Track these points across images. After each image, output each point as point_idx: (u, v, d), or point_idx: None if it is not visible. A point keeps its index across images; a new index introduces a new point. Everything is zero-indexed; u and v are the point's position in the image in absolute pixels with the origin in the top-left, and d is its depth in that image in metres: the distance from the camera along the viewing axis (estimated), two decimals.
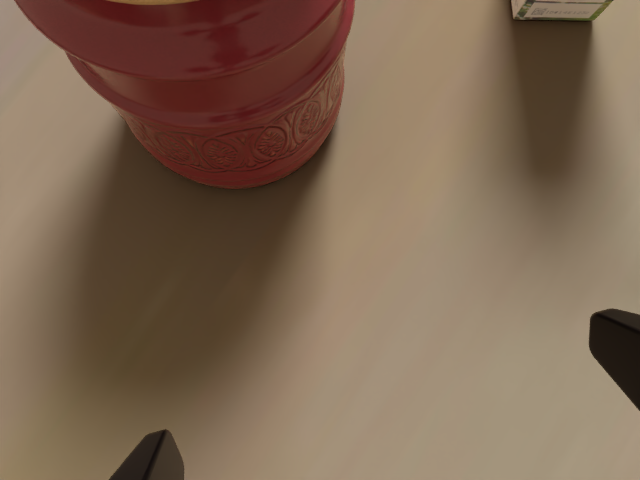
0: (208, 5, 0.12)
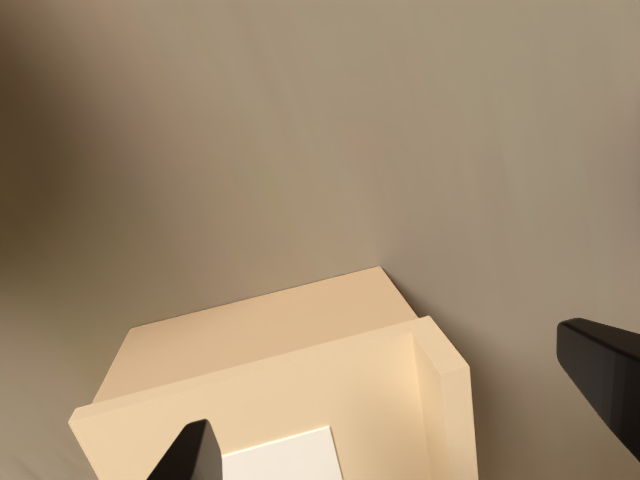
0: None
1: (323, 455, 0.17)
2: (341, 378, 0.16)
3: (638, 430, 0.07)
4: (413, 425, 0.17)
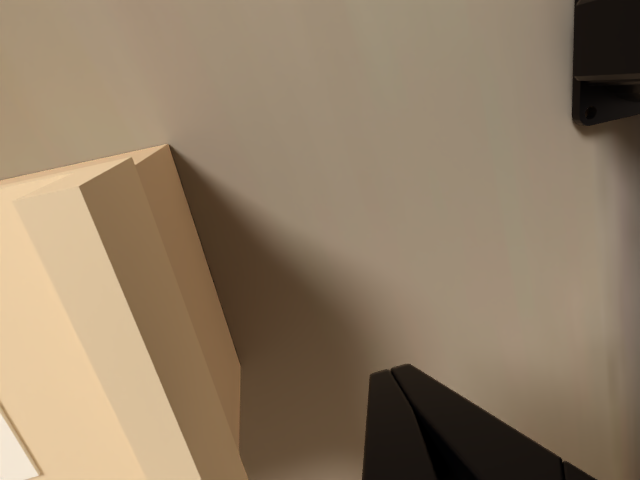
0: None
1: None
2: None
3: None
4: None
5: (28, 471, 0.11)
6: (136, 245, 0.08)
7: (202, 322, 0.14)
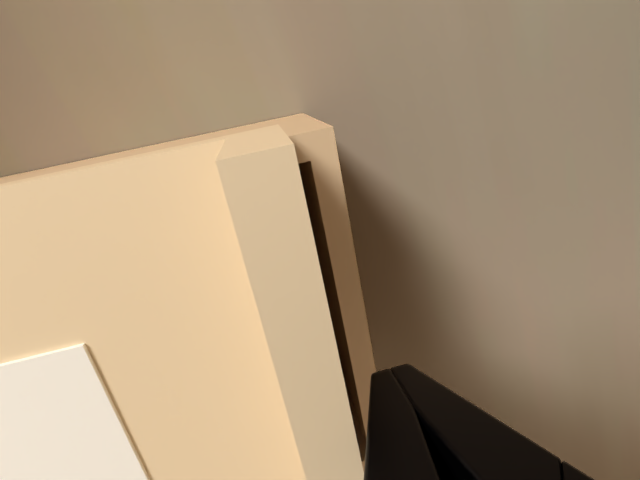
0: None
1: (86, 404, 0.09)
2: (89, 239, 0.08)
3: None
4: (262, 349, 0.09)
5: None
6: None
7: None
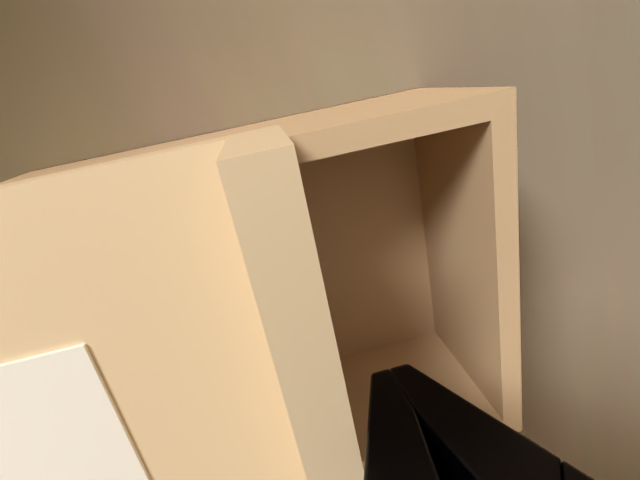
0: None
1: (86, 404, 0.09)
2: (89, 239, 0.08)
3: None
4: (262, 349, 0.09)
5: None
6: None
7: None
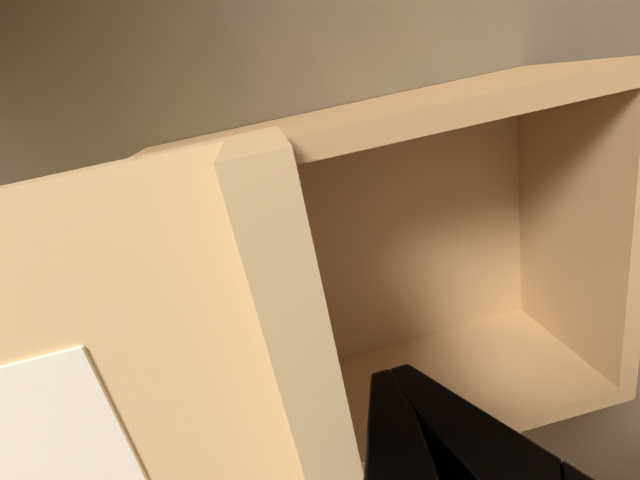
0: None
1: (85, 406, 0.09)
2: (87, 241, 0.08)
3: None
4: (261, 350, 0.09)
5: None
6: None
7: None
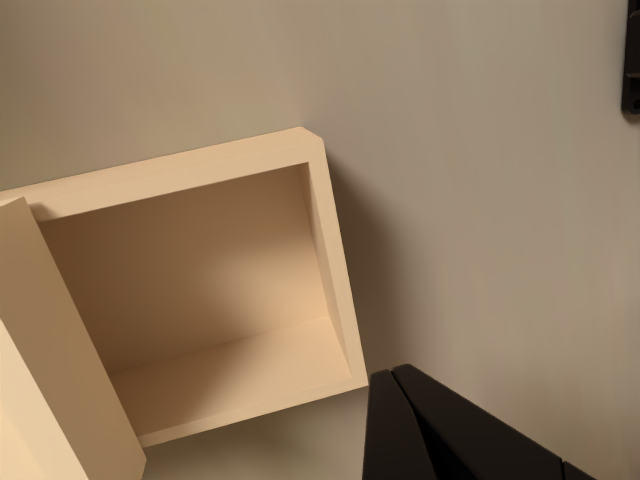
0: None
1: None
2: None
3: None
4: None
5: None
6: (16, 266, 0.11)
7: None
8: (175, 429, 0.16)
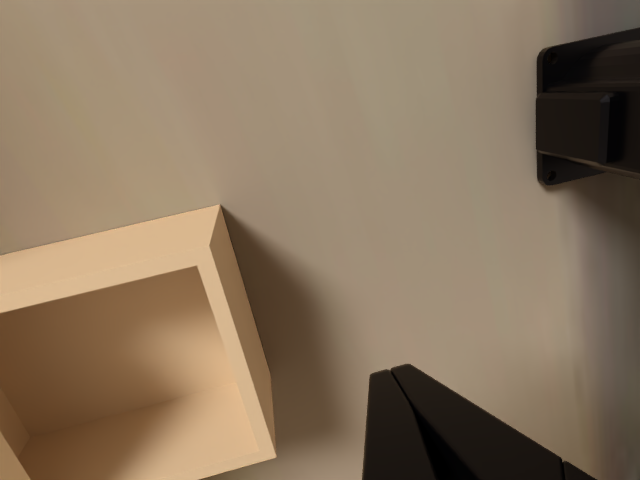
0: None
1: None
2: None
3: None
4: None
5: None
6: None
7: (249, 344, 0.18)
8: None
